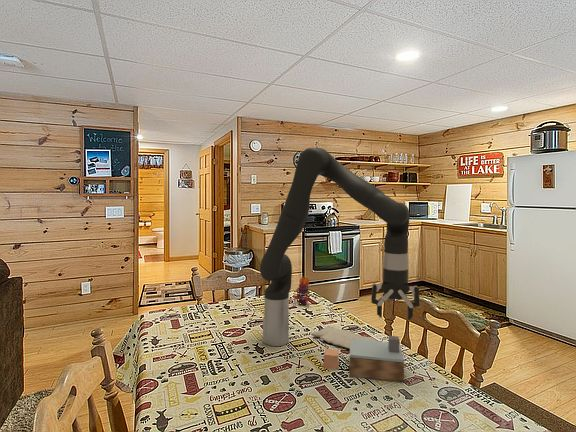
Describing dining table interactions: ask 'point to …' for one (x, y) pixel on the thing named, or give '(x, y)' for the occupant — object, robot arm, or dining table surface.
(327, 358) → the cube
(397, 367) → the brown wooden box
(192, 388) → the dining table surface
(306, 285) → the figurine
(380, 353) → the lid
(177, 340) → the dining table surface
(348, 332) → the stone tool
